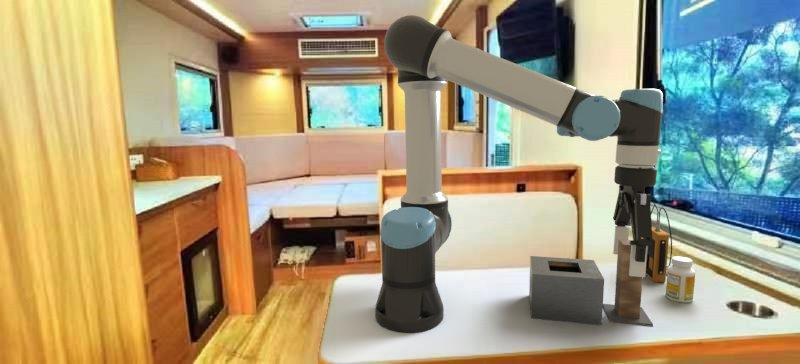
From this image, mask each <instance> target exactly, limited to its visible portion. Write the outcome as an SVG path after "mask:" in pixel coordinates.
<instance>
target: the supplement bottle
mask: <svg viewBox="0 0 800 364" xmlns="http://www.w3.org/2000/svg"><path fill="white" fill-rule="evenodd" d="M693 264H694V263H693V259H691V258H689V257H687V256H686V257H684V256H681V255H680V256H679V255H678V256H677V255H676V256H672V257H671V264H670V266H669V265H668V267H667V269H666V275H667V276H666V285H665V287H666V288H665V296H666V297H667V299H669V300H672V301H674V302H677V303H691V302H693V300H694V292H695V291H694V290H695V282H696V281H695V280H696V271H695V269H694V268H692V267H693Z"/></svg>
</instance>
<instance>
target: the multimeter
mask: <svg viewBox="0 0 800 364" xmlns="http://www.w3.org/2000/svg"><path fill="white" fill-rule="evenodd" d="M654 208H656V211H657V212H656V215H657V217H656V221H655V226H654V227H652V240H653V245H649V246H648V250H647V261H646V273H645V275H646V276H648V277H649V278H650V279H651V281H652V282H653V283H665V282H667V269H668V267H669V266H670V265H672V257H673V256H672V254H673V240H672V231H671V229H672V228H671V225H670V219H669V215H668V213H667V211H666V209H665V208H664V207H659V208H658V207H657V205H656V203H653V207H652V209H651V215H652V213H653V210H654ZM662 209H663V211H664V213H665V216H666V220H667V223H668V230H669V233H668V232H666V231H664V230H662V229H661V225H660V224H661V210H662ZM669 239H670V240H669ZM669 241H670V242H669ZM669 243H670V255H669V264H668V254H669V252H668V251H669ZM667 266H668V267H667Z"/></svg>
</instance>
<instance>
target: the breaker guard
mask: <svg viewBox="0 0 800 364" xmlns="http://www.w3.org/2000/svg"><path fill="white" fill-rule="evenodd" d="M529 259H530V260H529V262H530V263H529V293H528V295H529V305H530V307H529V309H530V319H538V320H546V321H558V322H565V323H566V322H567V323H577V324H578V323H579V324H585V325H586V324H587V325H595V326H603V310H604V307H603V304H604V292H605V291H604V290H605V278H604V276H603V274H602V273H601V271H600V269H599V267H598V264H596V261H595V260H594V259H586V258H585V259H583V258H582V259H580V258H570V257H569V258H568V257H567V258H566V257H555V256H554V257H552V256H537V255H535V256H534V255H530V257H529Z"/></svg>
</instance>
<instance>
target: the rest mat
mask: <svg viewBox="0 0 800 364" xmlns="http://www.w3.org/2000/svg"><path fill="white" fill-rule="evenodd" d="M614 307H615V304H612V303H609V304H608V303H603V310H604V312H605V313H606V316H607V318H608V320H609V322H611V323H618V324H627V325H628V324H629V325H638V326H639V325H640V326H646V327H647V326H648V327H649V326H650V327H654V324H653V321H652V320H651V319H650V317H649V316H648V314H647V313H646V311H645V310H644V309H643V307H642V306H640V319H637V318H627V317H619V316H618V314H617V312H616V311H615V309H614Z"/></svg>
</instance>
